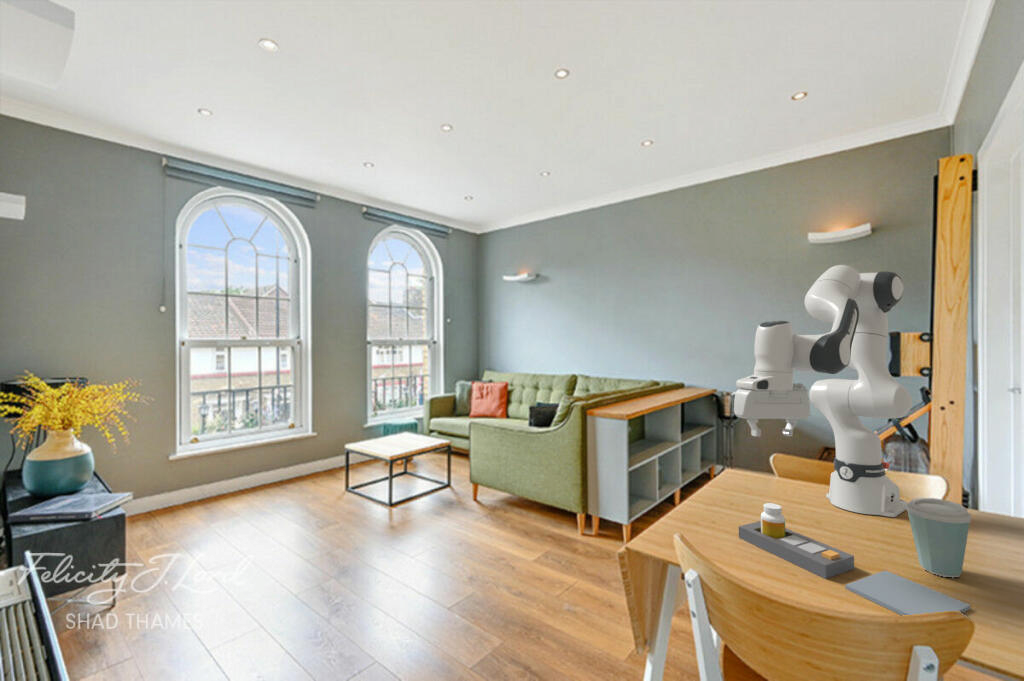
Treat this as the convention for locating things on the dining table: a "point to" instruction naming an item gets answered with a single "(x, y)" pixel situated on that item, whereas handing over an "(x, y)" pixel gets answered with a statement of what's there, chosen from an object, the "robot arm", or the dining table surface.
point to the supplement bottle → (773, 521)
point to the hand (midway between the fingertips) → (771, 435)
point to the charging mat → (904, 595)
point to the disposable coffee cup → (939, 534)
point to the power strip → (800, 551)
